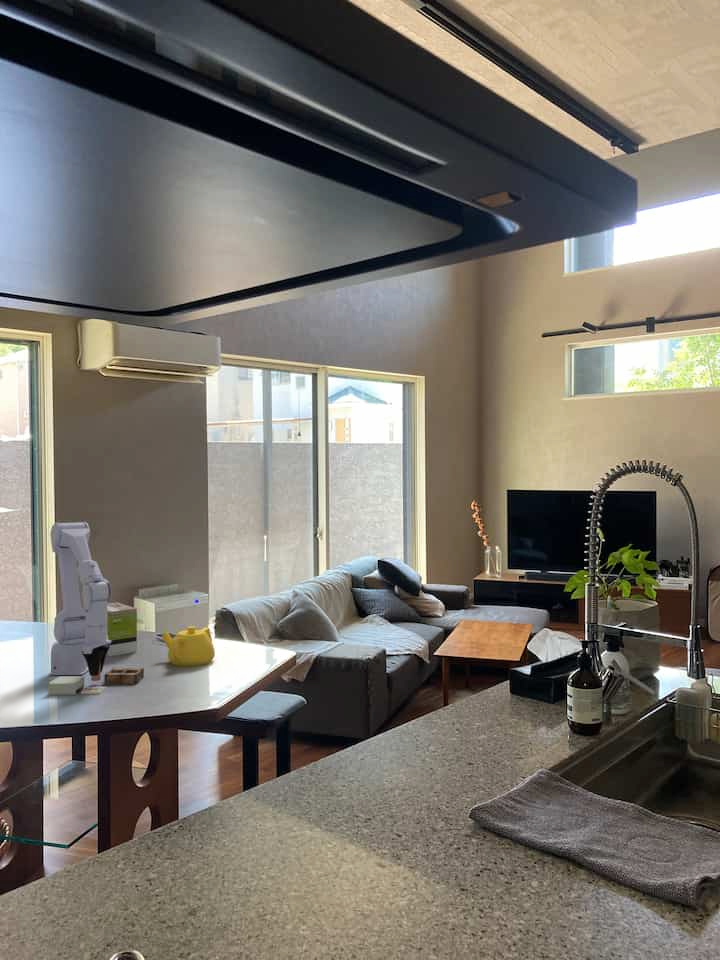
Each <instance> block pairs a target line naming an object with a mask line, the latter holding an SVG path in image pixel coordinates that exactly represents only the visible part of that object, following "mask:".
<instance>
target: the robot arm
mask: <svg viewBox="0 0 720 960" xmlns="http://www.w3.org/2000/svg"><path fill="white" fill-rule="evenodd" d="M90 536H91V528H90V526H89V524H88V523H87V521H82V522H81V521H80V522H54V523H53V525H52V526H51V529H50V542H51V543H50V544H51V548H52V552H53V553H55V554H56V555H57V558H58V564H59V565H58V567H59V575H60V576H59V577H60V586H61V587H60V589H61V595H62V606H63V607H62V608H63V609H61V611H60V612H58V614H57V615H56V616H55V617H54V627H53V637H54V639H55V640H56V641H55V642H54V643H53V644H52V645H51V651H50V672H49V675H50V676H83V675H84V674H86V673H87V672H88V673H89V676H97V675H98V674H99V669H100V662H101V673H102V672H103V668H104V664H105V660H106V657H107V655H106V654H107V652H108V650H109V648H110V646H109V645H105V644H110V643H111V640H108V635H107V604H108V602H109V601H110V600H111V597H112V586H111V583H110V581H109V580H107V579H106V578H105V577H103V574H102V572H101V569H100V566H99V564H98V562H97V561H96V560H92V557H91V556H92V555H91V552H90V548H89V544H88V543H89V541H90ZM77 563H78V565H77ZM79 579H80V583H81V586H82V591H81V595H80V585H79V584H80V583H79ZM81 596H82V601H83V607H82V603H81Z"/></svg>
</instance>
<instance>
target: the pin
mask: <svg viewBox="0 0 720 960" xmlns="http://www.w3.org/2000/svg"><path fill="white" fill-rule="evenodd" d="M101 673H102V672H101V662H100V669H99V674H98V675H97V676H91V681H92V682H98V681H100V680H101Z"/></svg>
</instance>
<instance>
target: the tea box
mask: <svg viewBox="0 0 720 960" xmlns="http://www.w3.org/2000/svg"><path fill="white" fill-rule="evenodd" d="M137 609H138V608H135V607H133V606H130V605H126V604H124V603H121V602H110V603H108V602H107V635H108V640H111V643H110V644H105V645H109V646H110V648H109V650H108V652H107V654H106V657H116V656H120V655H127V654H131V653H133V654H134V653H136V652H138V651H137V650H138V649H137V648H138V647H137V646H138V642H137V641H138V640H137V639H138V635H137V634H138V633H137V631H138V630H137V629H138V625H137V623H138V620H137V619H138V616H137V615H138V610H137Z"/></svg>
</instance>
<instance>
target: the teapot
mask: <svg viewBox="0 0 720 960" xmlns="http://www.w3.org/2000/svg"><path fill="white" fill-rule="evenodd" d="M160 637H161V638H162V639H163V642H164V643H165V645H166V646H167V648H168V652H167V659H168V660H169V662H170V663H171V664H172V665H174V666H177V667H191V668H192V667H199V666H205V665H207V664H210V663H211V661H213V659H214V658H215V655H216V654H215V653H216V652H215V648H214V644H213V638H212V633H211V629H210V627H202V628H201V629H197V627H196V626H194V625H192V626H191V625H190V626H187V627H186V629H185V630H181V631H179V632H177V634H176V635H175V636H174V637H171V635H170V634H169V632H167V631H166V632H164V633H162V634H161V636H160Z"/></svg>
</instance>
